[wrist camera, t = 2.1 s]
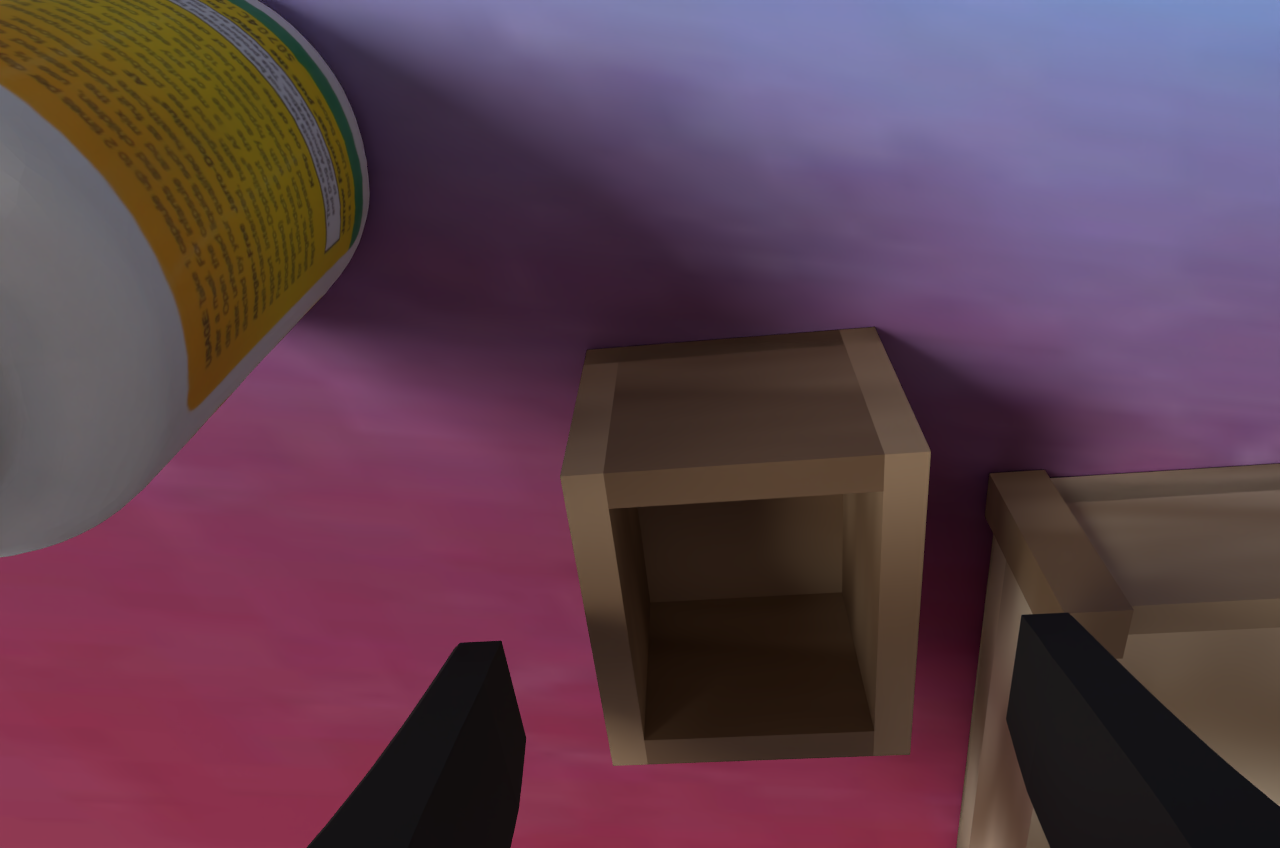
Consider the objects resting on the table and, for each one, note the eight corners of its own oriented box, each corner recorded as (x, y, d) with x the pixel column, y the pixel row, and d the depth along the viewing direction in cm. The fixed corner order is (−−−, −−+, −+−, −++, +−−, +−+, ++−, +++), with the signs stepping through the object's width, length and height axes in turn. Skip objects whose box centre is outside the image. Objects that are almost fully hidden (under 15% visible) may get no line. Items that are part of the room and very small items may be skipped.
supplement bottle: (293, 362, 16) (-119, 850, 8) (-4, 184, 15) (-895, 552, 6) (440, 115, 14) (79, 436, 5) (106, -126, 12) (-1070, -182, 4)
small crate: (867, 593, 18) (910, 754, 15) (625, 605, 19) (612, 765, 15) (874, 326, 15) (930, 451, 12) (586, 349, 16) (560, 476, 12)
